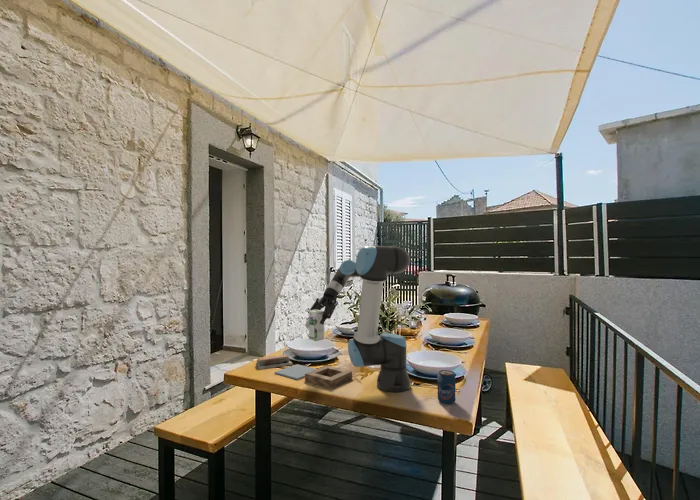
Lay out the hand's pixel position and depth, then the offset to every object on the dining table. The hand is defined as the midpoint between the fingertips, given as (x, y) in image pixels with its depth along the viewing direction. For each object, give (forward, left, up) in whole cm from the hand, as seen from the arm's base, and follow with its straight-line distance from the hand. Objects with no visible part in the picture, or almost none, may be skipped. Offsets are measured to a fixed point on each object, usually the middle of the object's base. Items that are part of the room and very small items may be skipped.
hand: (311, 327), depth 171 cm
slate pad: (+10, -1, -24) cm, 26 cm away
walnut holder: (-10, -2, -24) cm, 26 cm away
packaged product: (+30, -3, -25) cm, 39 cm away
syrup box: (0, -4, -7) cm, 8 cm away
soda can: (-65, -10, -24) cm, 70 cm away
